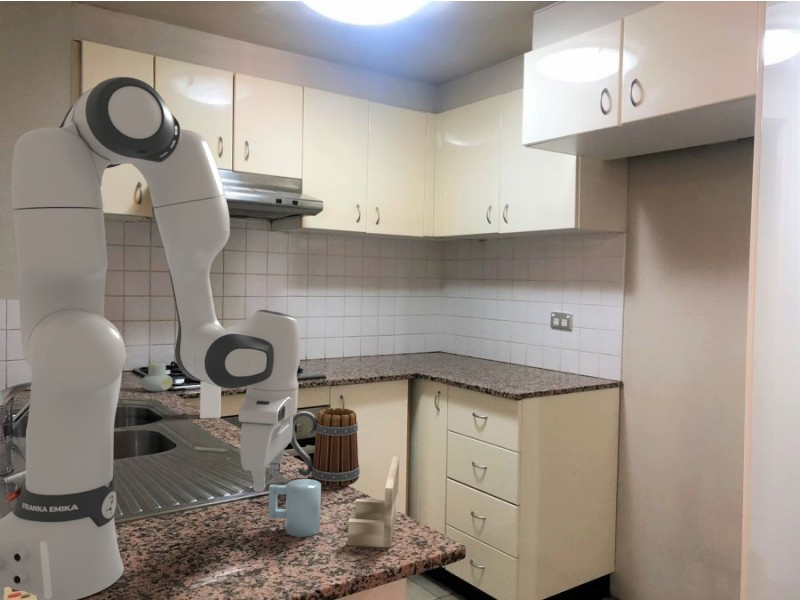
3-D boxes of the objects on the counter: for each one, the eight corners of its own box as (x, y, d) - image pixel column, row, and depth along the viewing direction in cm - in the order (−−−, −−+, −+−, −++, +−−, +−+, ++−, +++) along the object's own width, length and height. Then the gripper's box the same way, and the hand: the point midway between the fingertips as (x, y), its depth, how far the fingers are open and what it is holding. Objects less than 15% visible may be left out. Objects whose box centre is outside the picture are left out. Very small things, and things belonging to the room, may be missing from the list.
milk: (199, 418, 184) (200, 346, 183) (200, 414, 190) (201, 343, 189) (220, 418, 186) (221, 345, 185) (220, 413, 192) (221, 343, 191)
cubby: (347, 545, 102) (349, 486, 102) (361, 504, 120) (362, 454, 120) (390, 547, 102) (392, 488, 101) (397, 506, 120) (399, 456, 119)
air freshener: (157, 394, 218) (157, 366, 217) (137, 392, 220) (137, 364, 219) (175, 388, 228) (176, 362, 228) (156, 387, 230) (156, 360, 230)
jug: (264, 534, 105) (265, 488, 105) (273, 520, 111) (274, 477, 111) (316, 537, 105) (317, 491, 104) (322, 523, 111) (323, 480, 110)
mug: (360, 472, 140) (362, 407, 139) (358, 488, 129) (360, 418, 129) (291, 470, 139) (293, 405, 139) (284, 486, 129) (286, 416, 128)
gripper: (270, 391, 118) (266, 463, 118) (235, 413, 97) (230, 499, 98) (302, 394, 117) (298, 465, 118) (274, 416, 97) (269, 502, 97)
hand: (267, 481), depth 107 cm, fingers open, 8 cm apart
